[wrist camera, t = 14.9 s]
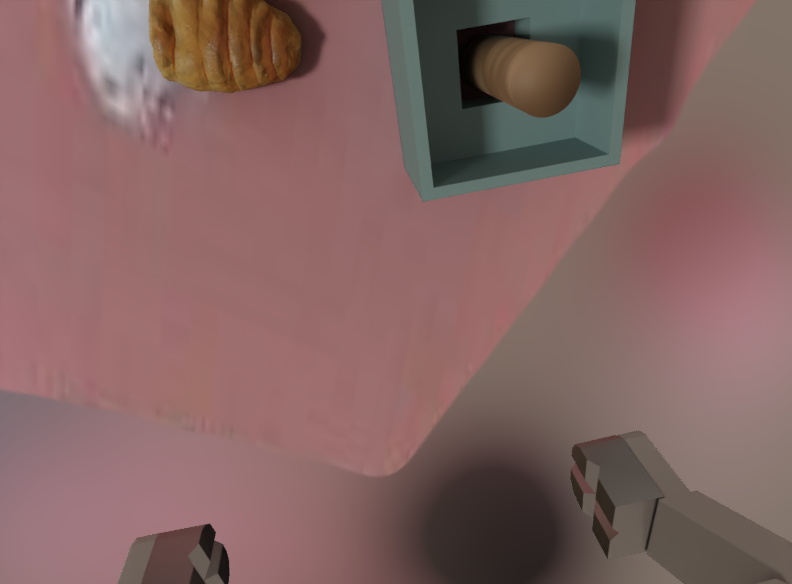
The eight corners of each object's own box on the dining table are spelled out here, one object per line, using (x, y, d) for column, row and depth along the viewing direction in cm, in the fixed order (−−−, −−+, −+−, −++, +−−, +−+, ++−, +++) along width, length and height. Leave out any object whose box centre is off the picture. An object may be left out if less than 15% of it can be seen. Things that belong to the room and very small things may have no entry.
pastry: (303, -8, 32) (302, -9, 29) (300, 99, 35) (298, 109, 32) (152, -32, 30) (132, -36, 27) (163, 83, 34) (147, 92, 30)
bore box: (376, -34, 32) (392, -46, 25) (575, -68, 32) (644, -89, 25) (404, 167, 39) (422, 201, 32) (567, 137, 39) (619, 163, 32)
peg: (456, 38, 34) (514, 49, 24) (504, 29, 35) (583, 37, 24) (459, 91, 36) (515, 123, 26) (505, 82, 36) (579, 111, 26)
